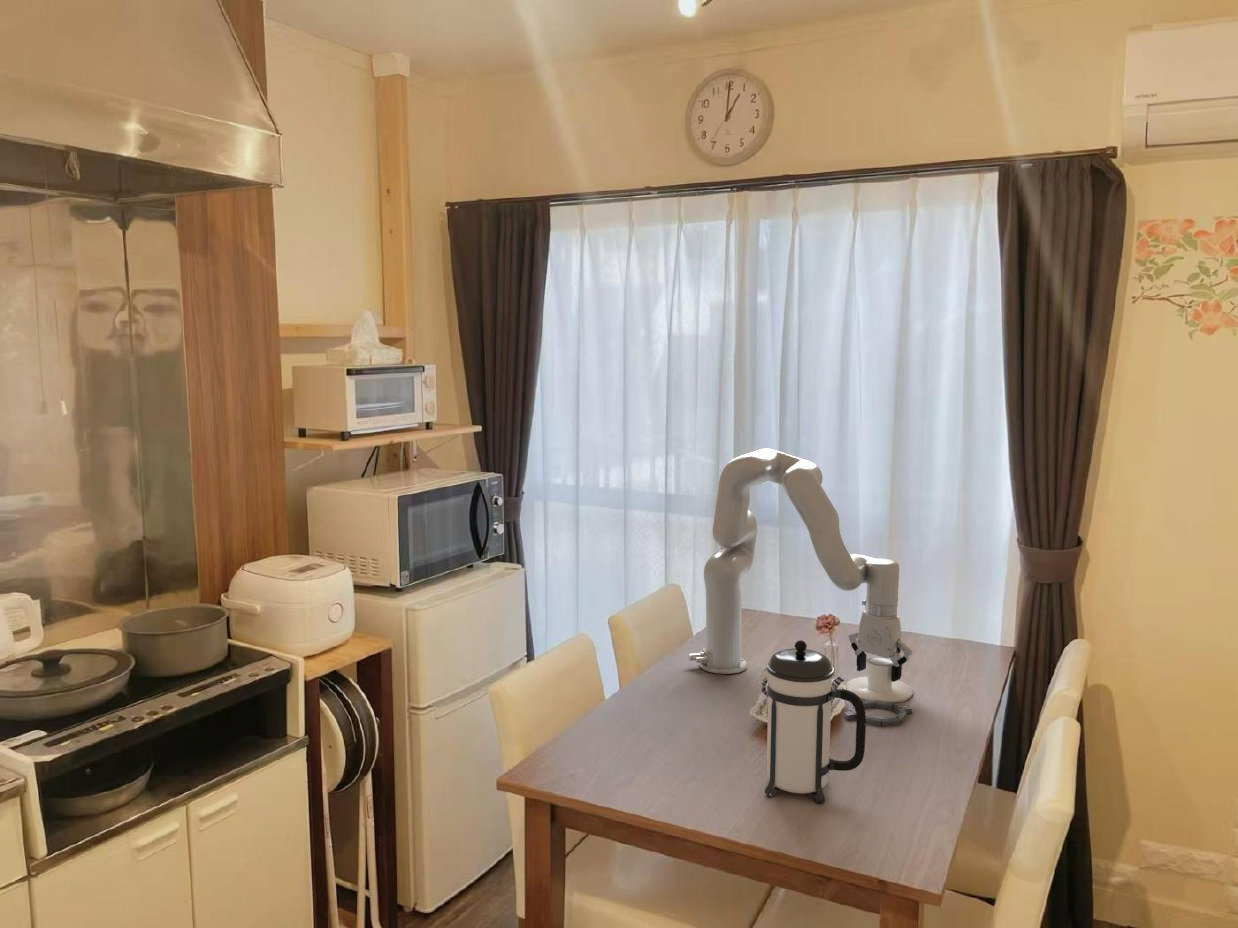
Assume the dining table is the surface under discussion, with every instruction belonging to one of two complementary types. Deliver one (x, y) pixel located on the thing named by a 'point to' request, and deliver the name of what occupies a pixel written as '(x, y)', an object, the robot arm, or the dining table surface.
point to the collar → (896, 709)
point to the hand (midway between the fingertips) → (878, 674)
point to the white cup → (879, 674)
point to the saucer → (895, 695)
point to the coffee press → (804, 722)
